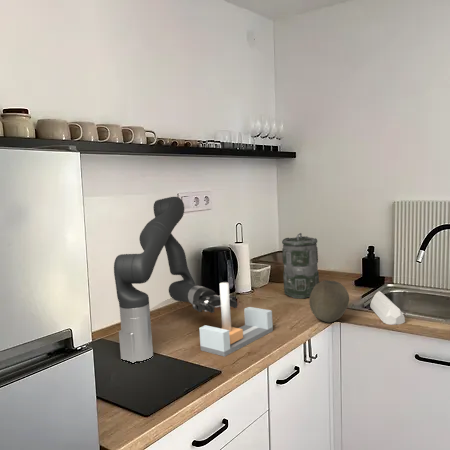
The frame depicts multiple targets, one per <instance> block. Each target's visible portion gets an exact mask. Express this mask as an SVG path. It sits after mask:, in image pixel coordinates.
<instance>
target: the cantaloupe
mask: <svg viewBox="0 0 450 450" xmlns="http://www.w3.org/2000/svg"><path fill="white" fill-rule="evenodd" d="M349 302H350V294H349V292H348V290H347V289H346V287H345V286H344V284H341V283H340V282H339V281H335V280H322V281H319V283H318V284H316V285H315V287H314V288H313V290H312V292H311V294H310V297H309V308H310V310H311V313H312V314H313V316H314V317H315V318H316V319H318V320H319V321H323V322H324V323H326V324H327V323H333V322H336V321H337V320H339V319H340V318H341V317H342V316H344V314H345V312H346V311H347V309H348V306H349Z"/></svg>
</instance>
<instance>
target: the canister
mask: <svg viewBox="0 0 450 450" xmlns="http://www.w3.org/2000/svg"><path fill="white" fill-rule="evenodd" d="M281 243H282V264H283V275H282V276H283V290H284V292H283V293H284V295H286V296H288V297H290V298H293V299H299V300H300V299H306V298H310V294H311V292H312V290H313V288H314V287H315V285H316V284H318V283H319V282H320V275H319V273H320V272H319V271H318V263H319V255H318V254H319V253H318V252H319V250H318V249H319V248H318V247H317V244H318V239H317V238H316V237H315V238H314V237H309V236H303V235H302V232H300V233H298V234H297V235H296V237H285V238H284V239H282V240H281Z"/></svg>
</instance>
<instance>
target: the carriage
mask: <svg viewBox="0 0 450 450" xmlns="http://www.w3.org/2000/svg"><path fill="white" fill-rule="evenodd" d="M229 295H230V284H229V282H227V281H223V282H220V283H219V296H220V301H221V307H220V313H221V314H220V315H221V329H225V330H229V335H230V344H232V343H234V342H236V341H238V340H240V339H242V338H243V329H239V328H240V327H234V326H232V319H231V306H230V298H229Z"/></svg>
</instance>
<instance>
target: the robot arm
mask: <svg viewBox="0 0 450 450" xmlns="http://www.w3.org/2000/svg"><path fill="white" fill-rule="evenodd" d="M184 213H185V203H184V202H183V199H182V198H180V197H179V196H169V197H165V198H159V199H157V200H155V201H154V203H153V214H154V218H152V219H151V220H150V221H148V222H147V223H146V224H145V226H144V227H143V228H142V230H141V232H140V234H139V243H140V247H141V248H142V250H143V252H141V253H124V254H123V253H122V254H118V255H117V256H116V258H115V259H114V263H113V274H114V275H113V276H114V282H115V283H114V284H115V289H116V297H117V302H118V304H119V305H118V306H119V317H120V318H119V319H120V330H118V338H119V339H118V340H119V350H120V360H121V359H123V360H127V361H130V362H132V363H134V362H136V361H143V360H146V359H149V358H151V357H152V356H153V357H154V348H153V336H152V335H153V334H152V324H151V310H150V299H149V294H148V293H146V292H145V291H142V290H139V289H137V288H136V287H135V286H134V285H133V284H137V285H138V284H141V285H142V284H145V283H147V282H148V281H149V280H150V279H151V276H152V274H153V271H154V269H155V266H156V263H157V261H158V258H159V256H160V254H161V252H162V250H164V249H163V248H165V253H166V257H167V263H168V267H169V272H170V274H171V275H172V276H181V277H182V279H181V280H177V281H173V282H171V284H169V287H168V293H169V296H170V298H171V299H172V300H174V301H177V302H183V303H185V302H186V303H187V302H188V304H191V305H192V309H193V310H195V311H197V312H198V313H202V312H203V311H204V312H209V313H210V314H211V313H212V314H214V313H215V308H219V307H220V308H221V301H220V295H218V294H217V293H216V292H215V290H213V289H211V288H208V287H205V286H202V285H198V284H196V283H195V280H194V278H193V276H192V274H191V272H190V270H189V266H188V263H187V262H188V261H187V257H186V256H187V255H186V252H185V249H184V248H183V246H182V244H180V242H179V241H178V240H177V239H176V237H175V236H174V235H173V234H172V232H173V231H174V229H175V227H176V226H177V225H178V224H179V222H180V221H181V220H182V218H183V217H184ZM229 298H230V308H233V309H236V308H238V301H236V299H237V298H236V296H233V295H231V294H229ZM153 357H152V358H153ZM152 358H151V359H152ZM149 360H150V359H149Z"/></svg>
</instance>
